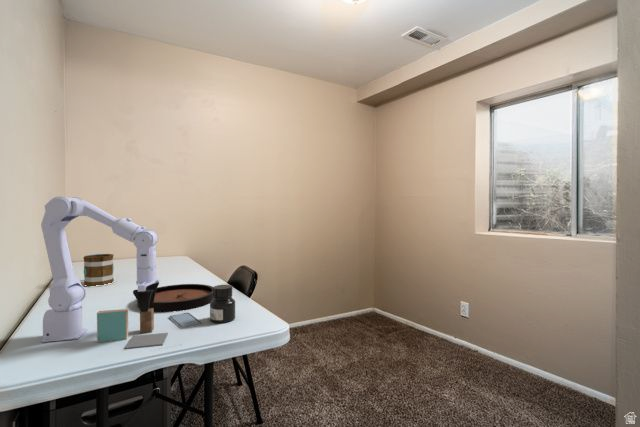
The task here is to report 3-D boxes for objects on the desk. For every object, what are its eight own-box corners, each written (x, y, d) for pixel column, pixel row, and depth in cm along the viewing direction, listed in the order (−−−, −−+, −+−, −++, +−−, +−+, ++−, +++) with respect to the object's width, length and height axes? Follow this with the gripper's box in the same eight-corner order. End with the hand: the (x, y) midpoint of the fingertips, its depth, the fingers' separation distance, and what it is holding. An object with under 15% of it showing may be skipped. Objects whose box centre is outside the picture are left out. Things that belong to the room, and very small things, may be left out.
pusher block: (140, 333, 107) (139, 312, 107) (142, 329, 110) (142, 308, 110) (151, 332, 108) (151, 311, 108) (153, 328, 111) (153, 308, 111)
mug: (117, 283, 174) (117, 255, 174) (86, 288, 165) (86, 258, 164) (107, 278, 188) (107, 252, 188) (78, 281, 178) (78, 254, 178)
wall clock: (145, 286, 154) (215, 282, 164) (145, 295, 154) (215, 290, 164) (128, 305, 124) (215, 298, 134) (128, 316, 124) (215, 308, 134)
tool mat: (124, 349, 95) (124, 347, 95) (133, 337, 104) (133, 335, 104) (162, 345, 98) (162, 343, 98) (167, 333, 106) (167, 332, 106)
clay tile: (96, 342, 100) (96, 313, 99) (99, 340, 102) (99, 311, 101) (126, 339, 102) (126, 310, 102) (128, 337, 104) (128, 308, 104)
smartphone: (181, 328, 111) (168, 316, 122) (181, 330, 111) (168, 318, 122) (203, 323, 115) (188, 312, 127) (203, 325, 115) (188, 314, 127)
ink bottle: (206, 318, 121) (206, 285, 121) (229, 313, 127) (229, 282, 127) (215, 325, 114) (215, 291, 113) (239, 320, 119) (239, 287, 119)
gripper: (155, 270, 103) (155, 313, 103) (163, 262, 116) (164, 300, 117) (129, 271, 101) (130, 315, 101) (141, 263, 115) (142, 302, 115)
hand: (147, 307), depth 109 cm, fingers open, 7 cm apart
